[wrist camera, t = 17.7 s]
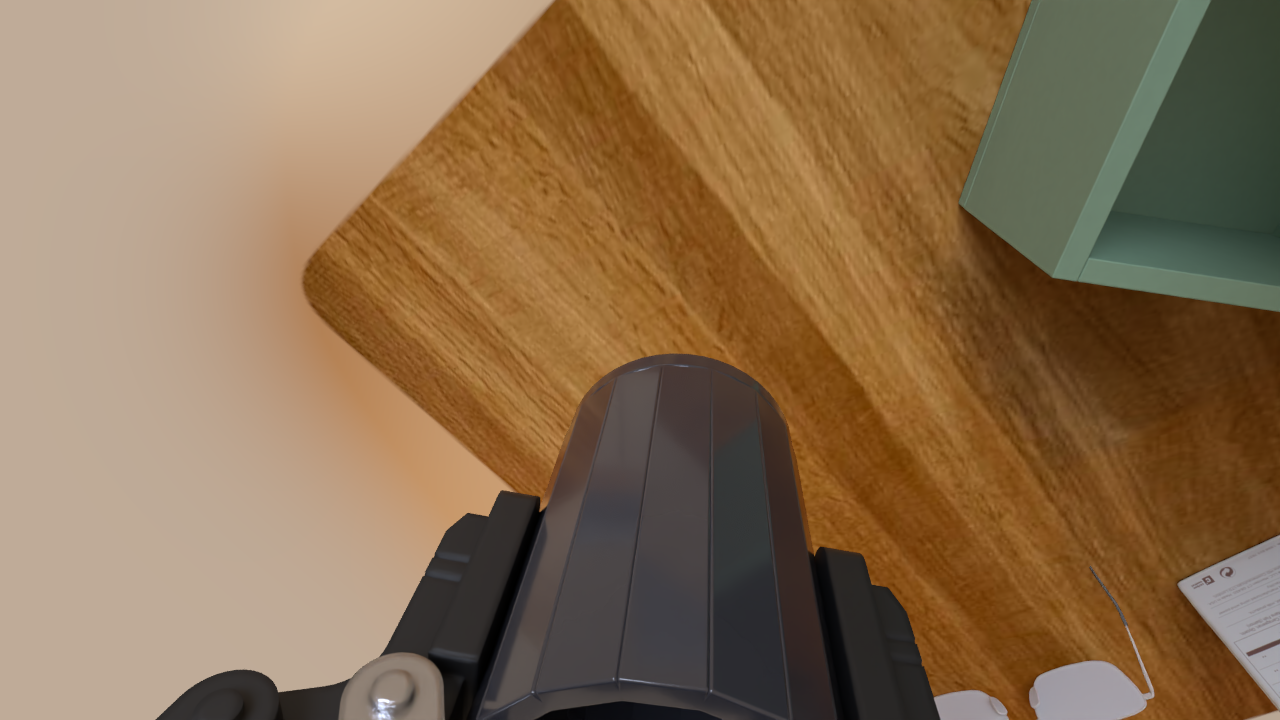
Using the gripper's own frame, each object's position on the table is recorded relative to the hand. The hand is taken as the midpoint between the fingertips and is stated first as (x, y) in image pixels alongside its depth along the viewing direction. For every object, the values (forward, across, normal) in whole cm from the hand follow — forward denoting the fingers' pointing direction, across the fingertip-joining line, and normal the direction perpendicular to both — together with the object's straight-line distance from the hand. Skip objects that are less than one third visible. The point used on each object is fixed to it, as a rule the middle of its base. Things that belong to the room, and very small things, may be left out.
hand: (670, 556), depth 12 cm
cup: (+3, 0, 0) cm, 3 cm away
